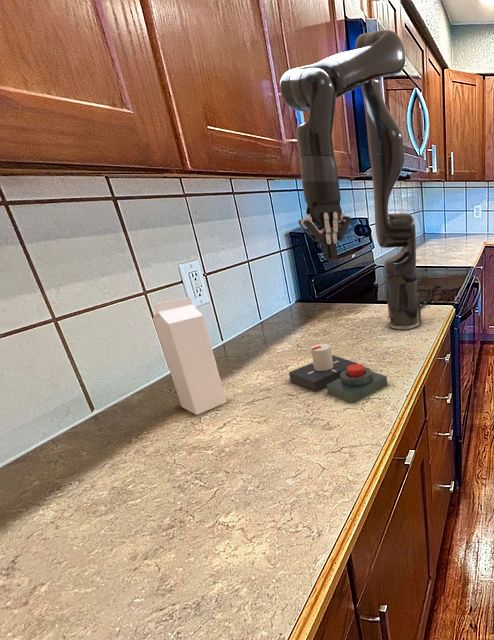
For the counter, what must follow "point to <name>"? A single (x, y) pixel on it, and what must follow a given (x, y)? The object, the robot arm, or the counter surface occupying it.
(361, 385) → the switch block
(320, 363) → the power knob
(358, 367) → the button
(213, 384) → the milk
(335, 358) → the control panel
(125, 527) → the counter surface
